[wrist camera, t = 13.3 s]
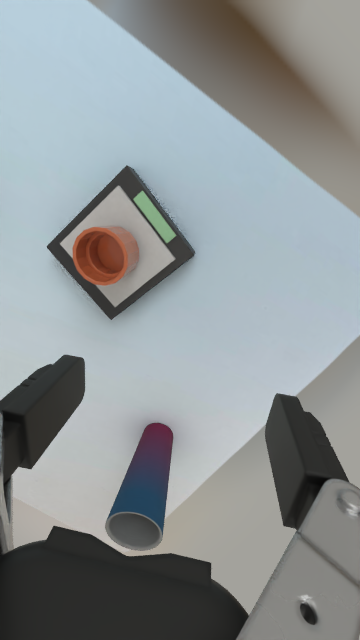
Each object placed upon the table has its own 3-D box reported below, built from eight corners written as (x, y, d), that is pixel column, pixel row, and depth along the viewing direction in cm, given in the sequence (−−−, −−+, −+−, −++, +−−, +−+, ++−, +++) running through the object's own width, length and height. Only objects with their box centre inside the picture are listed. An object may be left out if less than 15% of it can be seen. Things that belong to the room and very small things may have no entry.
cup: (147, 412, 44) (115, 503, 30) (185, 428, 44) (171, 527, 30) (133, 440, 46) (98, 536, 32) (169, 455, 46) (149, 558, 32)
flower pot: (117, 214, 30) (99, 214, 26) (150, 256, 31) (139, 263, 27) (83, 247, 32) (61, 252, 27) (115, 285, 33) (99, 296, 29)
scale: (133, 168, 31) (125, 163, 28) (195, 252, 34) (193, 255, 31) (56, 244, 35) (43, 247, 33) (116, 314, 38) (109, 321, 35)
